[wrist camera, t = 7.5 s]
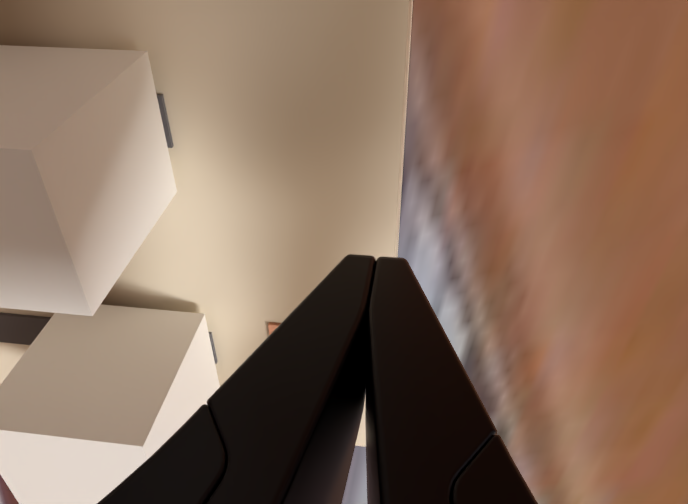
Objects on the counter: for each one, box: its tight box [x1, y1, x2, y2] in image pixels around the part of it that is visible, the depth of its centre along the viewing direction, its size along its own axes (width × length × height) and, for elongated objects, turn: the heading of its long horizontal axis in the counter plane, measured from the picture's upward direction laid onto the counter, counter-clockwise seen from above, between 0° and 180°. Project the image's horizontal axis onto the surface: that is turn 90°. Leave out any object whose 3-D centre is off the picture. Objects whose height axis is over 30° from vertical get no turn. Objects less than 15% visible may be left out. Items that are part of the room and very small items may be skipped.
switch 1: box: [0, 45, 177, 316], centre depth 11 cm, size 4×3×4 cm
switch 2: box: [0, 304, 220, 504], centre depth 15 cm, size 4×3×4 cm
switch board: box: [0, 0, 413, 447], centre depth 14 cm, size 18×22×3 cm
